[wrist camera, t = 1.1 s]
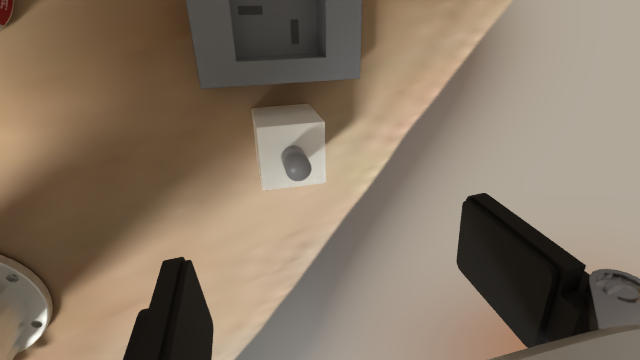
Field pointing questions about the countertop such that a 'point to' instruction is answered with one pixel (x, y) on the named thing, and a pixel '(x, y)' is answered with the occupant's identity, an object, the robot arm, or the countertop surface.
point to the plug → (289, 146)
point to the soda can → (5, 12)
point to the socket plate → (275, 41)
